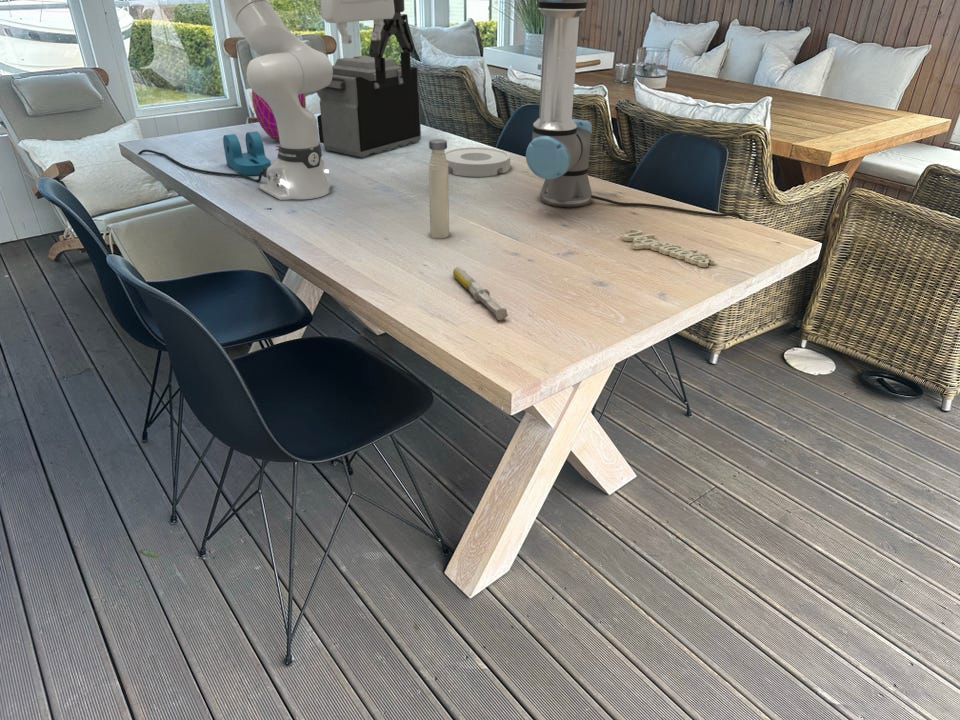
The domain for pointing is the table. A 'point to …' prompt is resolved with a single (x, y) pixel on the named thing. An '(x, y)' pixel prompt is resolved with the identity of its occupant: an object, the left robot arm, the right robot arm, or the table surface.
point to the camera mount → (246, 154)
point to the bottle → (438, 195)
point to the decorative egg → (269, 114)
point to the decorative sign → (667, 248)
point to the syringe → (479, 293)
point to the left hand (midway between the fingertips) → (361, 41)
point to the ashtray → (477, 161)
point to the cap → (438, 144)
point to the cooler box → (368, 108)
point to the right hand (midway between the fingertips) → (394, 80)
